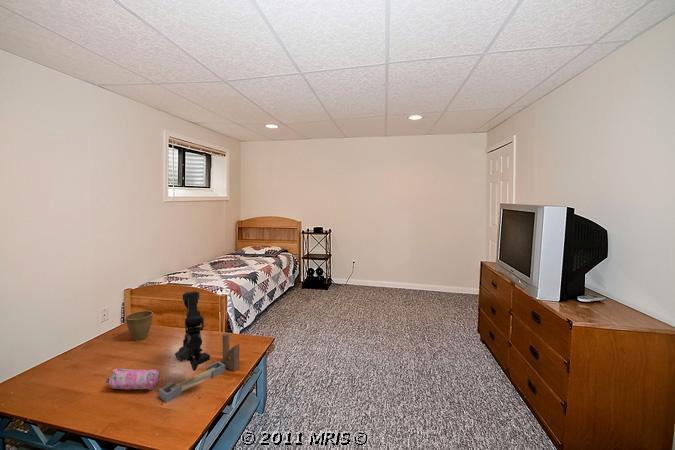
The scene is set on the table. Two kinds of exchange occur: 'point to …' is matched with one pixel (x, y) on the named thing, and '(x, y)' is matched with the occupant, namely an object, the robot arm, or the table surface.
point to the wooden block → (230, 354)
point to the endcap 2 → (216, 368)
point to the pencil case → (133, 379)
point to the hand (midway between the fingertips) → (194, 370)
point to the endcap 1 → (169, 392)
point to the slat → (194, 380)
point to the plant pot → (139, 324)
